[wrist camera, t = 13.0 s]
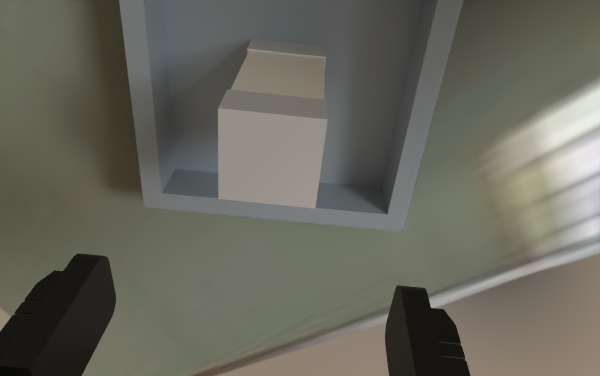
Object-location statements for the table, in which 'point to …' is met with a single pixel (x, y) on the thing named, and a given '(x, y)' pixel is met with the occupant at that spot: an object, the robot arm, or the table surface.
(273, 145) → the block
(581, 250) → the table surface
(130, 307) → the table surface
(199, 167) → the parts tray
